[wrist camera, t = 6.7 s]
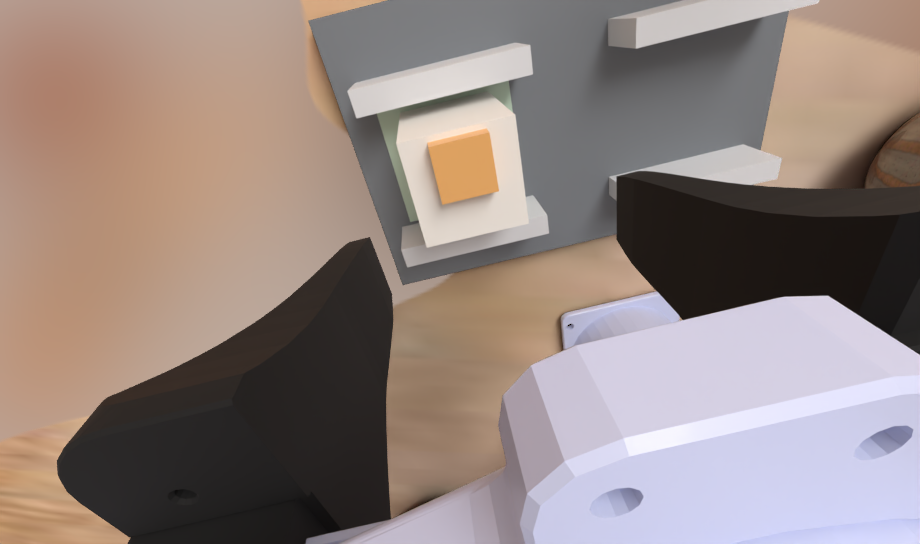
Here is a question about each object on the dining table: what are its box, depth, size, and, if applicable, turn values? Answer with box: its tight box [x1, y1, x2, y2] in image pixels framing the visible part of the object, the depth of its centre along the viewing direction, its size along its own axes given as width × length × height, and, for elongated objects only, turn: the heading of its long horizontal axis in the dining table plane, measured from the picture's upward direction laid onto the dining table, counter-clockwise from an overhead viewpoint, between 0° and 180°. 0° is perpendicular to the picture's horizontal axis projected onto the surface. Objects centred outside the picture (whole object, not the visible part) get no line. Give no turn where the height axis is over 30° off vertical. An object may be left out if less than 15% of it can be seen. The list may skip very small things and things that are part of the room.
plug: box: [396, 91, 529, 248], centre depth 16 cm, size 4×4×6 cm
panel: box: [309, 0, 819, 285], centre depth 18 cm, size 13×20×4 cm, turn 102°
